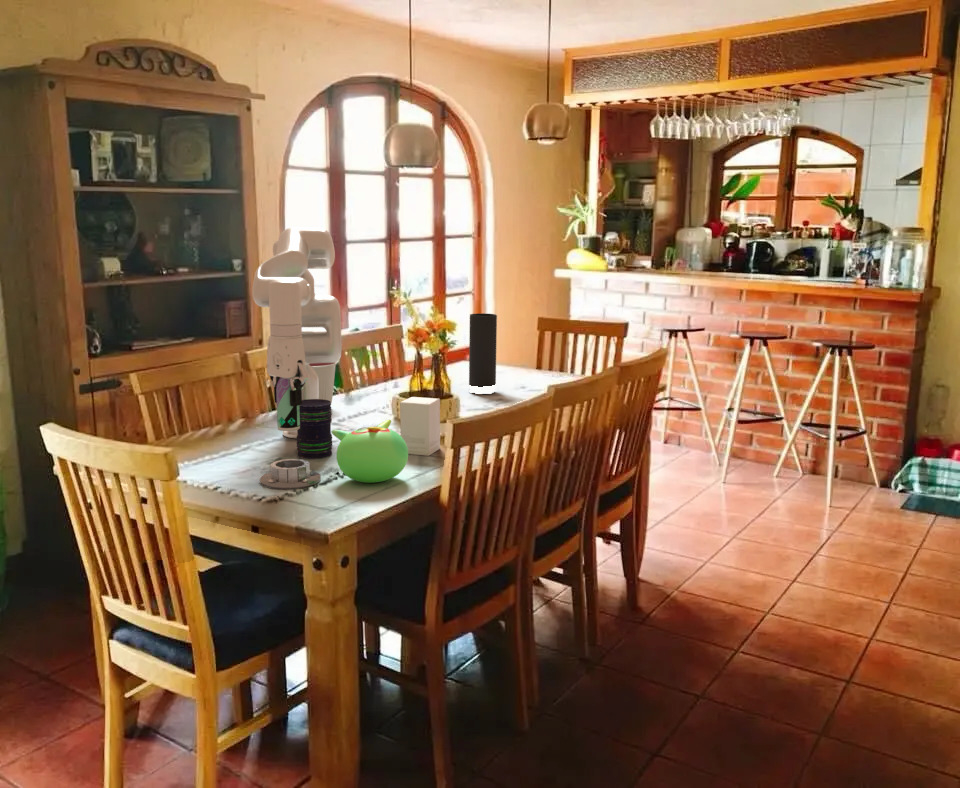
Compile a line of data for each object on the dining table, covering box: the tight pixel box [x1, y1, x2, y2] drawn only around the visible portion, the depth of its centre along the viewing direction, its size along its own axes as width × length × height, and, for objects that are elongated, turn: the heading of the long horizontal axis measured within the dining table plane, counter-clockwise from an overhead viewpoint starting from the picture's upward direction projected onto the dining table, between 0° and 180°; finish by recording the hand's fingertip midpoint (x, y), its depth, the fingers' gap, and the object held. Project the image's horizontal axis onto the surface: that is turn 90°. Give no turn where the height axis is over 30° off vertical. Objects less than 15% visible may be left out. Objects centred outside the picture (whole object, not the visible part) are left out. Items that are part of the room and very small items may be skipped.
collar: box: [259, 458, 322, 490], centre depth 220 cm, size 15×15×4 cm
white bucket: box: [309, 361, 338, 404], centre depth 302 cm, size 18×18×21 cm
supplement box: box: [399, 396, 441, 457], centre depth 249 cm, size 9×9×15 cm
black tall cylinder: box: [468, 313, 498, 387], centre depth 334 cm, size 10×10×30 cm
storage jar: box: [295, 399, 333, 460], centre depth 244 cm, size 10×10×15 cm
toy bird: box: [331, 419, 409, 484], centre depth 220 cm, size 18×17×15 cm
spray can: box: [276, 363, 300, 432], centre depth 216 cm, size 6×6×20 cm
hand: (288, 403), depth 217 cm, fingers closed on spray can, 5 cm apart
